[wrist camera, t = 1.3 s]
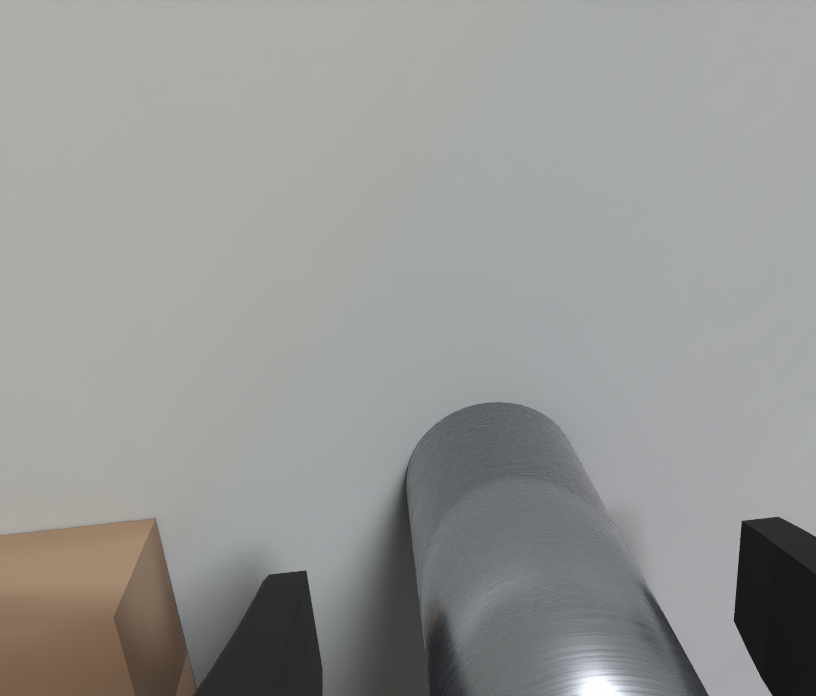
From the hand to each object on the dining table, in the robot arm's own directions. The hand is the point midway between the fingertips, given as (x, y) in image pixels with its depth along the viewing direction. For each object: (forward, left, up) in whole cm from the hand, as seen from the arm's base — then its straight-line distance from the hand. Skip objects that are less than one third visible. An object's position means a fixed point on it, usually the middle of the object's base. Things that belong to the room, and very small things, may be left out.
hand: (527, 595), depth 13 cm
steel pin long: (0, 0, -4) cm, 4 cm away
